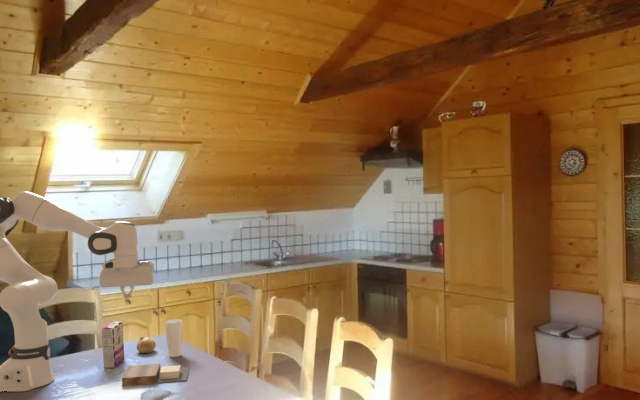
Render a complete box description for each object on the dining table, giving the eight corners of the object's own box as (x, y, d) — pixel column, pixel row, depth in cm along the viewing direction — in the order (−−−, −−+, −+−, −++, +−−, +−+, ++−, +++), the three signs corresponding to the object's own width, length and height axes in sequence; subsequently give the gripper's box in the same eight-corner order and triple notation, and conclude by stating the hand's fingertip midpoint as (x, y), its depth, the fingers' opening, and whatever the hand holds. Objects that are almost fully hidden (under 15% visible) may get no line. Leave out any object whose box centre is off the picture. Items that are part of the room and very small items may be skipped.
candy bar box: (112, 359, 239) (111, 321, 238) (124, 359, 239) (123, 320, 238) (102, 368, 228) (101, 328, 227) (115, 368, 228) (113, 327, 227)
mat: (156, 383, 209) (156, 382, 209) (160, 371, 223) (160, 370, 223) (186, 381, 211) (186, 379, 211) (189, 368, 225) (189, 367, 225)
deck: (122, 386, 207) (121, 378, 207) (128, 373, 221) (128, 365, 221) (156, 383, 209) (156, 375, 209) (160, 371, 223) (160, 363, 223)
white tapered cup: (166, 354, 244) (165, 319, 244) (182, 352, 246) (181, 318, 246) (167, 359, 238) (165, 323, 237) (183, 357, 240) (182, 322, 239)
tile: (159, 379, 212) (159, 372, 212) (162, 372, 219) (161, 366, 219) (179, 377, 213) (178, 371, 213) (180, 371, 220) (180, 365, 220)
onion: (151, 348, 254) (150, 332, 254) (158, 352, 248) (158, 336, 248) (134, 352, 249) (133, 336, 249) (141, 356, 243) (140, 339, 243)
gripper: (154, 259, 228) (155, 294, 229) (101, 262, 225) (102, 297, 225) (152, 262, 222) (154, 297, 222) (97, 264, 218) (99, 300, 219)
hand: (127, 297), depth 224 cm, fingers closed
